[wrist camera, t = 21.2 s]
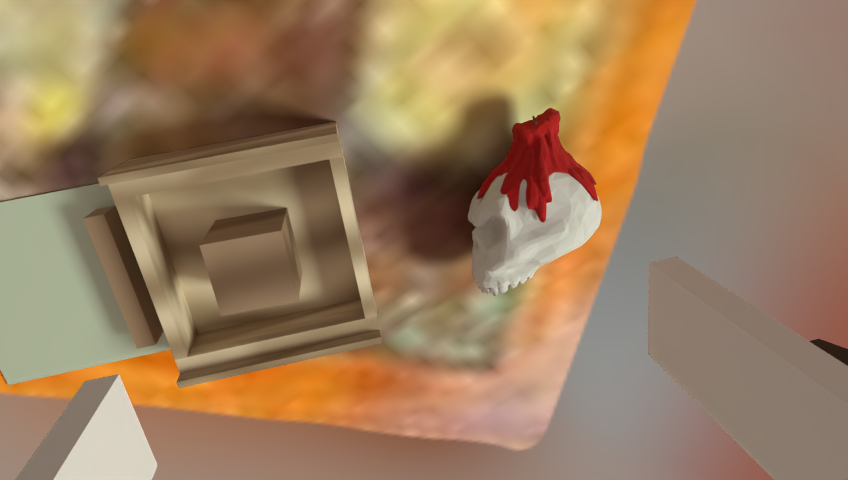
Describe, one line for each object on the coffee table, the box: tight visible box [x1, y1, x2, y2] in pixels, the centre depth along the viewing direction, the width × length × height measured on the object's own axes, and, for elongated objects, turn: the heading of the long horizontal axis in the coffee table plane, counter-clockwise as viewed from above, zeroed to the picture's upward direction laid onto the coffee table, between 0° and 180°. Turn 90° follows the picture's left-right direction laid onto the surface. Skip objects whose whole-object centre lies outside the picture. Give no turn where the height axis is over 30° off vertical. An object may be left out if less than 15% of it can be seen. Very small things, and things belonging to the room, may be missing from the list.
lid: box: [0, 183, 171, 385], centre depth 46 cm, size 16×16×3 cm
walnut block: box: [199, 208, 302, 316], centre depth 45 cm, size 6×6×6 cm
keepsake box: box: [97, 122, 382, 388], centre depth 45 cm, size 18×17×6 cm
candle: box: [468, 108, 601, 296], centre depth 47 cm, size 9×11×15 cm
